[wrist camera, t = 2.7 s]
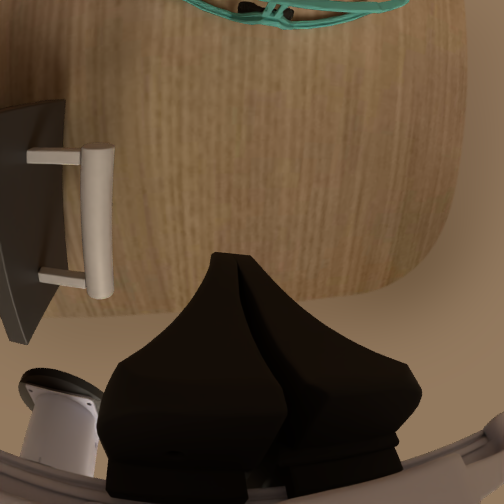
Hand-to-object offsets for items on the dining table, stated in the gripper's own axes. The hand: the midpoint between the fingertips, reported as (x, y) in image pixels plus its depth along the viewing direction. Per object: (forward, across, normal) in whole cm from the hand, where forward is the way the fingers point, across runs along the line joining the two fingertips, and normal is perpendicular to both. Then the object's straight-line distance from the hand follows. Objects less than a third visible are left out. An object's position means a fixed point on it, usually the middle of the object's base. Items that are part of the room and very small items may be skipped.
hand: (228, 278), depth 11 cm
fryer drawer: (+7, +13, 0) cm, 15 cm away
